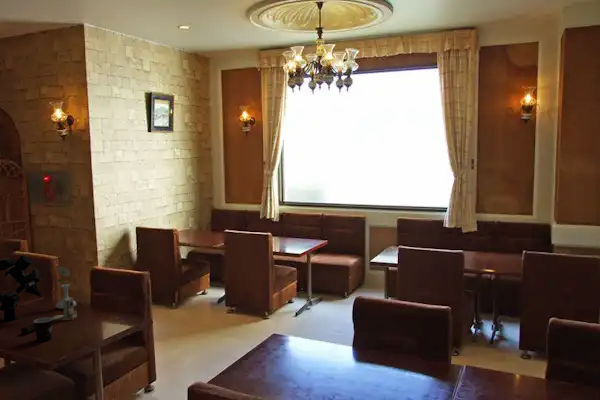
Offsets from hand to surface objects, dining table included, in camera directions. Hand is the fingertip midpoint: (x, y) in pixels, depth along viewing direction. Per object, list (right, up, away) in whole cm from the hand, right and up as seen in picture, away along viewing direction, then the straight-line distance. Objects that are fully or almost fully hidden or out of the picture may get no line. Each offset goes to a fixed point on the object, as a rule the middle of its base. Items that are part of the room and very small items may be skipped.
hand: (40, 295), depth 280 cm
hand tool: (+6, -15, -15) cm, 22 cm away
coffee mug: (+19, -16, -30) cm, 39 cm away
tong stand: (+12, -13, +2) cm, 18 cm away
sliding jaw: (+14, -12, +2) cm, 19 cm away
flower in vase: (+4, -12, +22) cm, 26 cm away
